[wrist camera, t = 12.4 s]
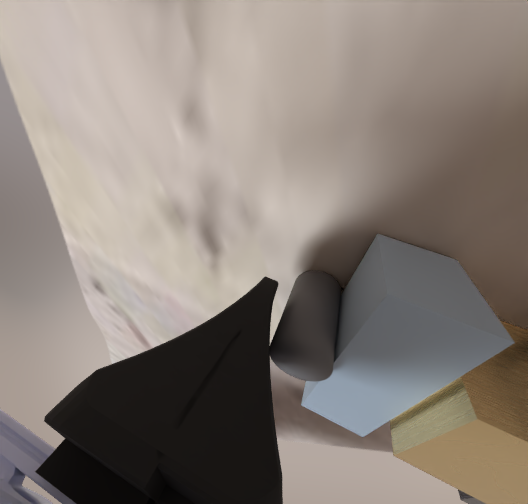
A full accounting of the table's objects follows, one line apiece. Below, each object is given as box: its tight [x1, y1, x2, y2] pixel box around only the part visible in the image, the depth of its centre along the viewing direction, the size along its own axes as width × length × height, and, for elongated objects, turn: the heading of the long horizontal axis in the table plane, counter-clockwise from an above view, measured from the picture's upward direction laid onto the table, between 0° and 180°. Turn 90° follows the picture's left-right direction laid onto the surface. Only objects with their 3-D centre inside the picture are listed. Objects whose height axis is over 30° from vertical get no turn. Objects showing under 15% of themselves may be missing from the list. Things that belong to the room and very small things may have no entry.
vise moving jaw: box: [270, 234, 515, 437], centre depth 9 cm, size 8×6×4 cm
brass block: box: [390, 320, 528, 504], centre depth 8 cm, size 4×4×5 cm
